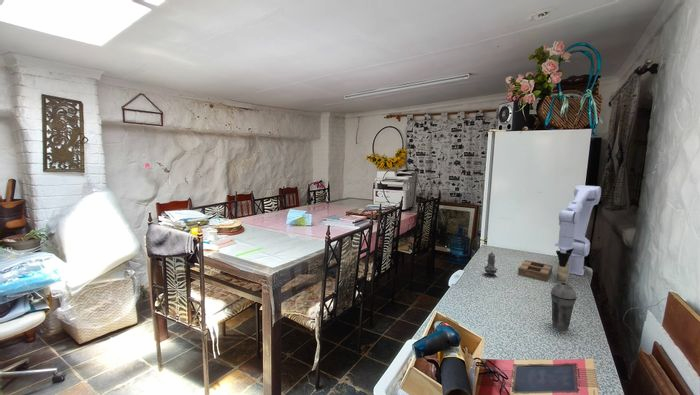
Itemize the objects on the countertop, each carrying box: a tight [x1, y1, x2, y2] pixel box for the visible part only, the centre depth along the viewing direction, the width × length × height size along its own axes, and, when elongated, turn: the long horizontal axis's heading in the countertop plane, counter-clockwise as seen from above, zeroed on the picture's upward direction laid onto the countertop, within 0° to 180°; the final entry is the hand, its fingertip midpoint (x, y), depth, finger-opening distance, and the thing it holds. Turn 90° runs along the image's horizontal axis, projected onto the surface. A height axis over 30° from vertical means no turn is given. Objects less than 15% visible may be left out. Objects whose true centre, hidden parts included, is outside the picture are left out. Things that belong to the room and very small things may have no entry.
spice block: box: [517, 259, 554, 282], centre depth 150 cm, size 15×12×4 cm
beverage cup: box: [550, 271, 577, 332], centre depth 102 cm, size 7×7×20 cm
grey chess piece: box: [483, 251, 498, 278], centre depth 147 cm, size 6×6×12 cm
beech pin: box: [556, 262, 569, 282], centre depth 142 cm, size 4×4×8 cm
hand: (563, 264), depth 142 cm, fingers open, 7 cm apart
